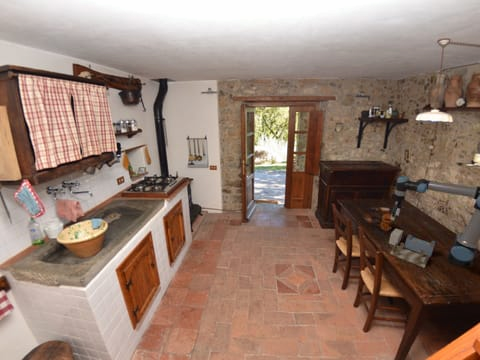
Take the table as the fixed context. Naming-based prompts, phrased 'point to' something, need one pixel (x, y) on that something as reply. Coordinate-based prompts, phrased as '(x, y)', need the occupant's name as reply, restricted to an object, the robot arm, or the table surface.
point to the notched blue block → (419, 245)
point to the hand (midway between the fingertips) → (394, 217)
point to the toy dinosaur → (386, 222)
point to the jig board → (410, 255)
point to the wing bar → (395, 236)
